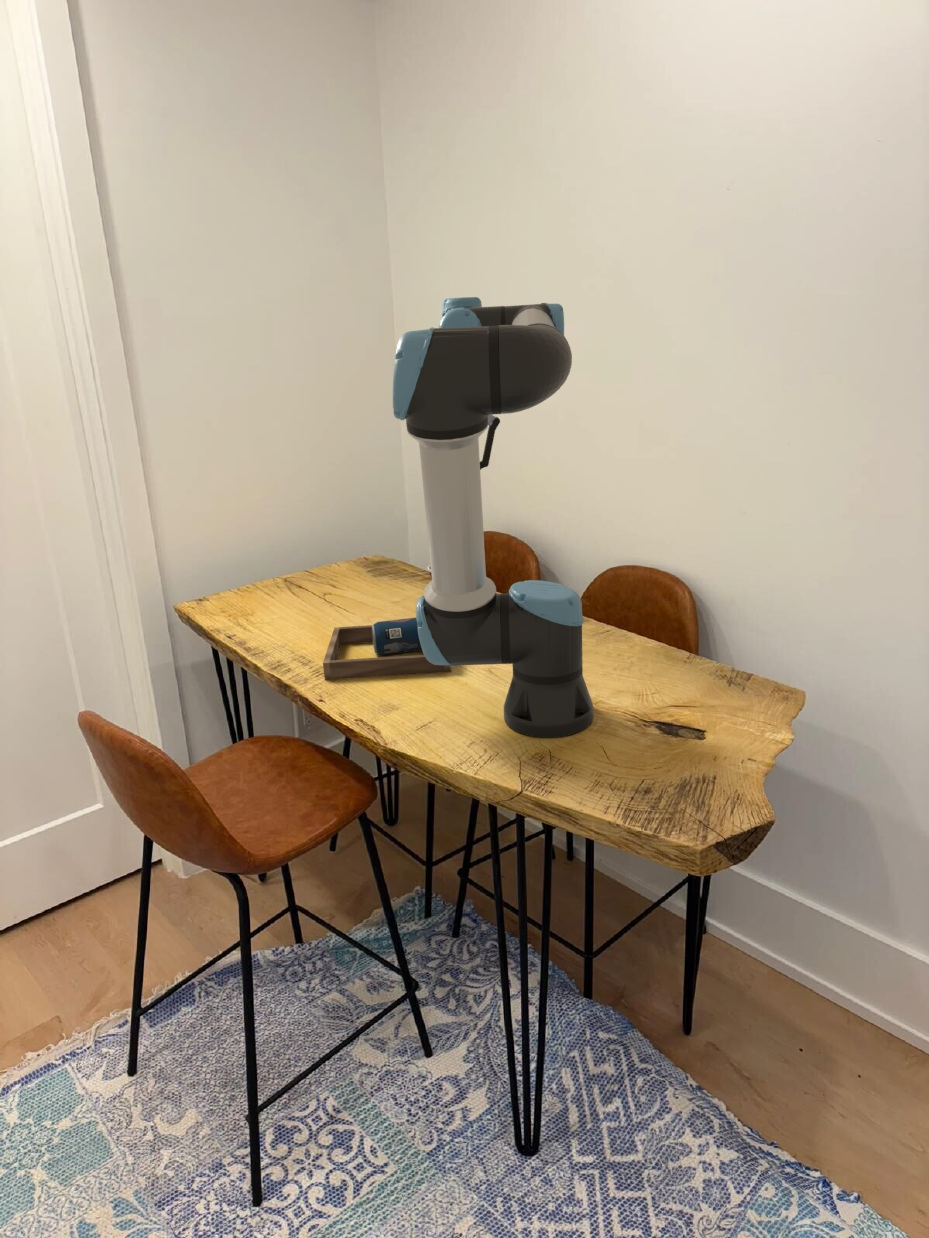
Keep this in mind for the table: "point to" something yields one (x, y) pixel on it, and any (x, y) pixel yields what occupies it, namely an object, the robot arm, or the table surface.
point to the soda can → (396, 636)
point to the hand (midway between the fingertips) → (471, 502)
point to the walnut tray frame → (371, 659)
